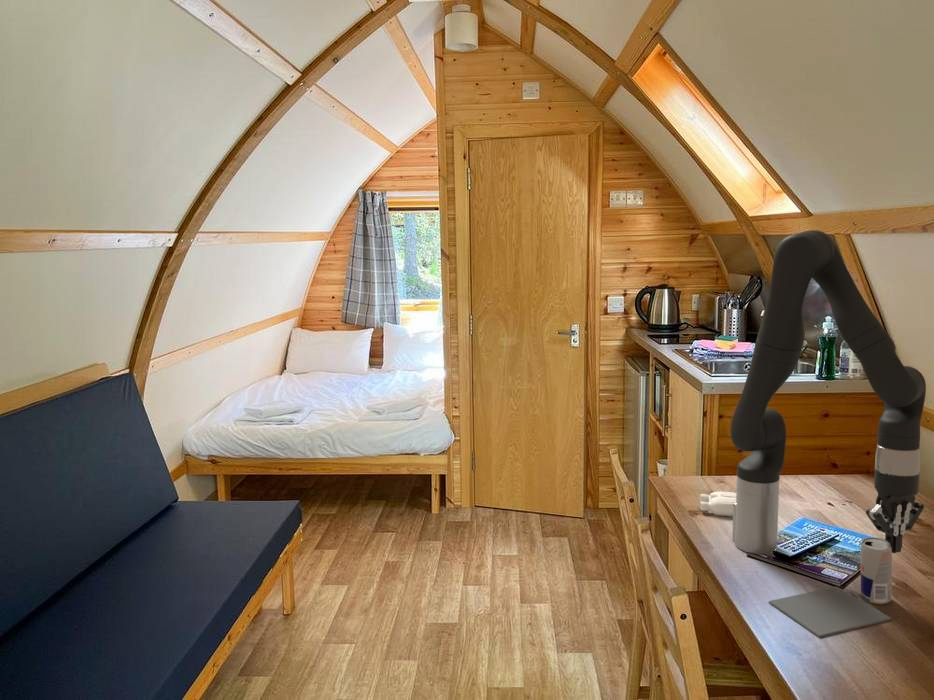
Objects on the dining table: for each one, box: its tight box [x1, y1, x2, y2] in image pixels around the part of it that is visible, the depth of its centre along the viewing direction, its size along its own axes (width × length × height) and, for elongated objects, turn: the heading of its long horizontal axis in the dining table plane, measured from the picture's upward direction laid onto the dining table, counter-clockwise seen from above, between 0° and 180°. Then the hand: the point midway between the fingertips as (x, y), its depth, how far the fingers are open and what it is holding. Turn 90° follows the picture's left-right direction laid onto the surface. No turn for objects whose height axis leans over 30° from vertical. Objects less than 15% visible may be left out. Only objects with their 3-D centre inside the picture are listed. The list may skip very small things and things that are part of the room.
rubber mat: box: [768, 586, 892, 638], centre depth 135 cm, size 13×17×1 cm
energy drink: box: [859, 536, 893, 605], centre depth 137 cm, size 5×5×12 cm
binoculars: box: [700, 491, 736, 518], centre depth 184 cm, size 10×16×5 cm, turn 72°
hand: (893, 551), depth 138 cm, fingers closed
